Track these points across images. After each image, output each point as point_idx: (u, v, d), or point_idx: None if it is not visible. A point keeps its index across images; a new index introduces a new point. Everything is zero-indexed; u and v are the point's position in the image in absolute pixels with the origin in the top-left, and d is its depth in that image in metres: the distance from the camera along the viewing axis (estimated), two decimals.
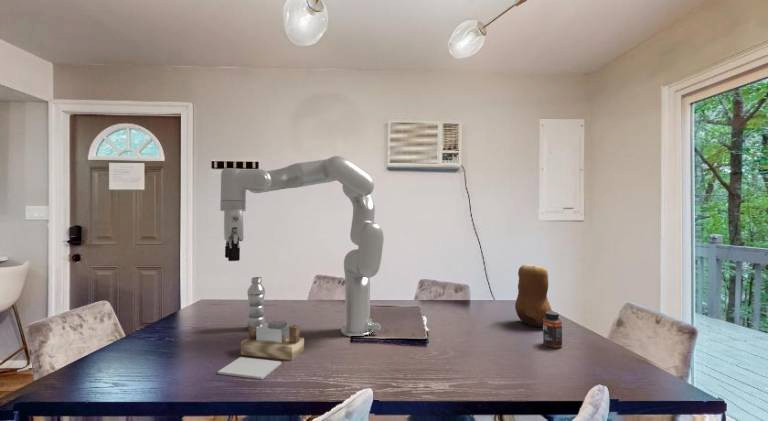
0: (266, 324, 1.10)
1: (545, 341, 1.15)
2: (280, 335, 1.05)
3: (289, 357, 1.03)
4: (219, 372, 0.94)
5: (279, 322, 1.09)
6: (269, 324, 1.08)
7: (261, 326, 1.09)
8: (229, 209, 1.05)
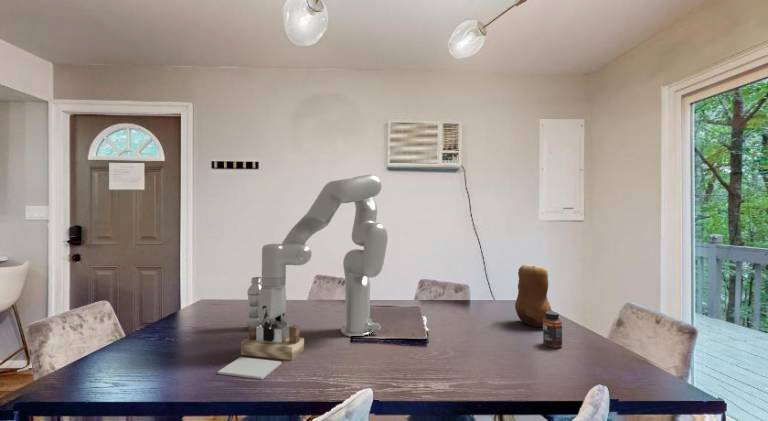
0: None
1: (545, 341, 1.15)
2: (280, 335, 1.05)
3: (289, 357, 1.03)
4: (219, 372, 0.94)
5: (279, 322, 1.09)
6: None
7: (261, 326, 1.09)
8: None
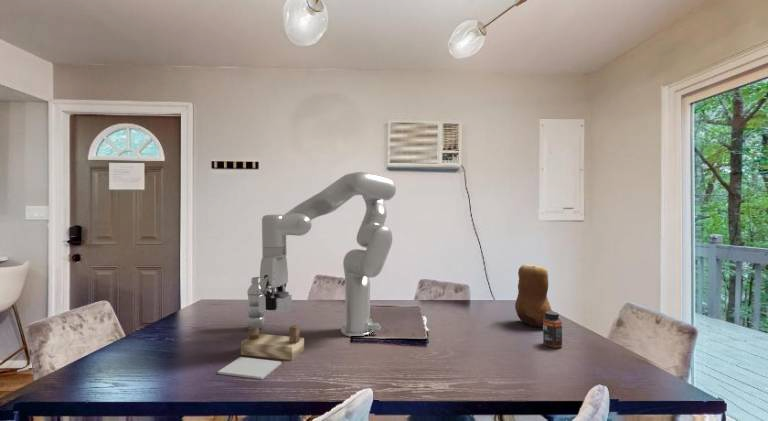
0: None
1: (545, 341, 1.15)
2: (282, 304, 1.06)
3: (289, 357, 1.03)
4: (219, 372, 0.94)
5: (281, 292, 1.09)
6: None
7: None
8: None
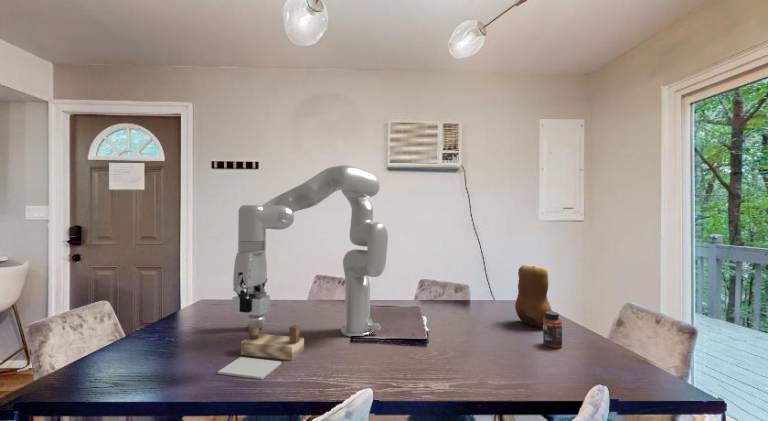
0: None
1: (545, 341, 1.15)
2: (258, 305, 0.94)
3: (289, 357, 1.03)
4: (219, 372, 0.94)
5: (258, 292, 0.97)
6: None
7: None
8: None
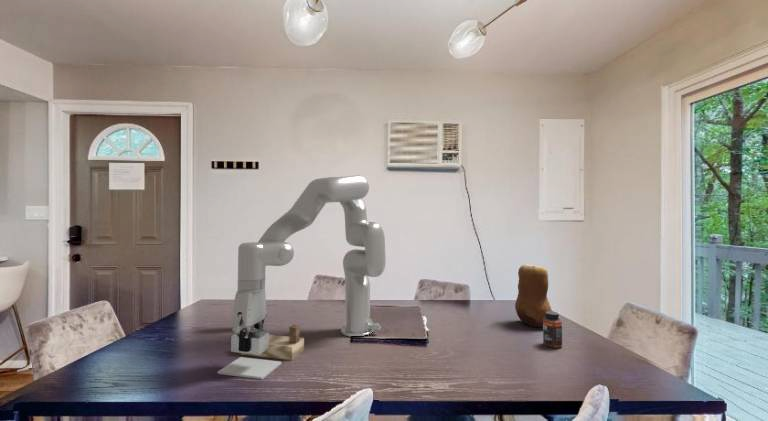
0: None
1: (545, 341, 1.15)
2: (258, 344, 0.94)
3: (289, 357, 1.03)
4: (219, 372, 0.94)
5: (257, 330, 0.97)
6: None
7: None
8: None
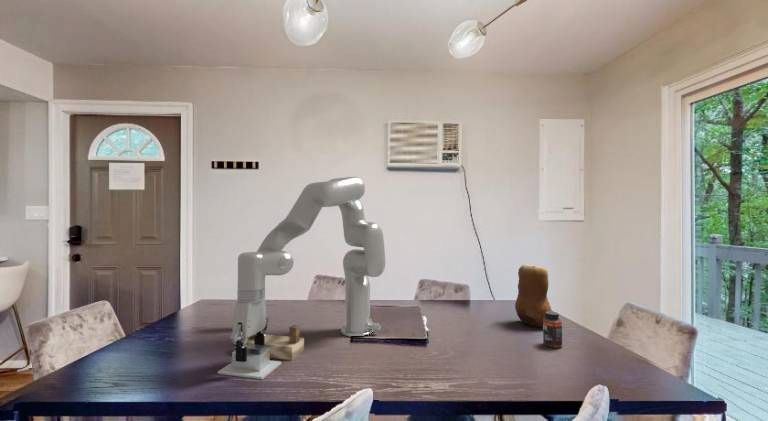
0: None
1: (545, 341, 1.15)
2: (258, 361, 0.94)
3: (289, 357, 1.03)
4: (219, 372, 0.94)
5: (258, 346, 0.97)
6: None
7: None
8: None
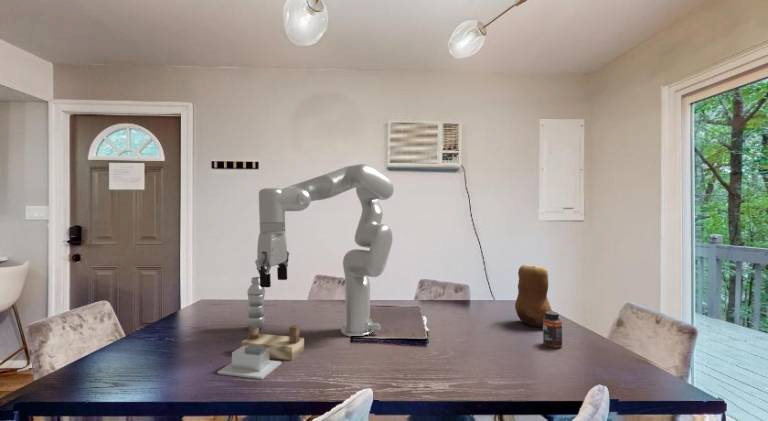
0: (243, 348, 0.99)
1: (545, 341, 1.15)
2: (258, 361, 0.94)
3: (289, 357, 1.03)
4: (219, 372, 0.94)
5: (258, 346, 0.97)
6: (246, 349, 0.96)
7: (238, 350, 0.97)
8: None
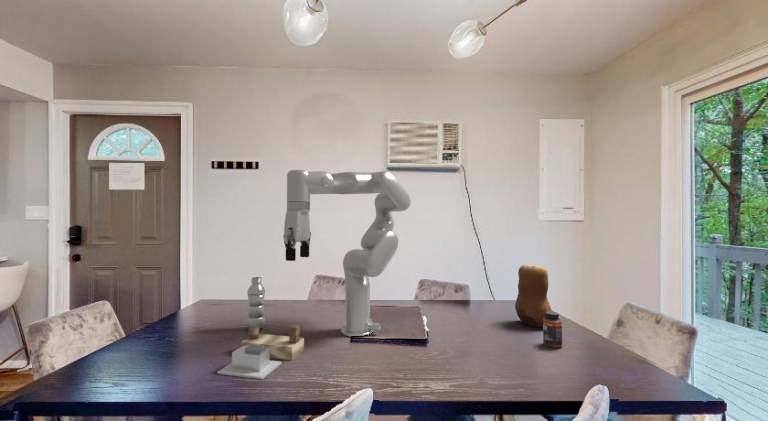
0: (243, 348, 0.99)
1: (545, 341, 1.15)
2: (258, 361, 0.94)
3: (289, 357, 1.03)
4: (219, 372, 0.94)
5: (258, 346, 0.97)
6: (246, 349, 0.96)
7: (238, 350, 0.97)
8: None
